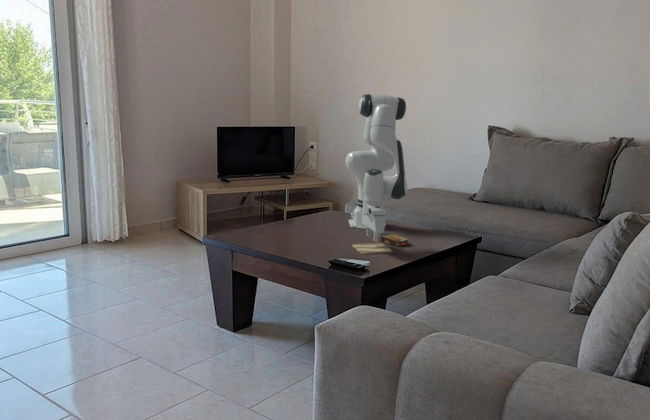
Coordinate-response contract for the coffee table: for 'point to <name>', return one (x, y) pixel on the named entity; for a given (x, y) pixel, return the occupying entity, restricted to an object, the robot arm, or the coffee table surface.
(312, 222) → the coffee table surface
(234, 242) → the coffee table surface
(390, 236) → the tin
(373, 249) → the mat
